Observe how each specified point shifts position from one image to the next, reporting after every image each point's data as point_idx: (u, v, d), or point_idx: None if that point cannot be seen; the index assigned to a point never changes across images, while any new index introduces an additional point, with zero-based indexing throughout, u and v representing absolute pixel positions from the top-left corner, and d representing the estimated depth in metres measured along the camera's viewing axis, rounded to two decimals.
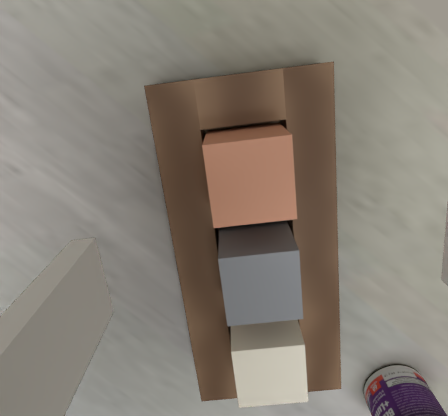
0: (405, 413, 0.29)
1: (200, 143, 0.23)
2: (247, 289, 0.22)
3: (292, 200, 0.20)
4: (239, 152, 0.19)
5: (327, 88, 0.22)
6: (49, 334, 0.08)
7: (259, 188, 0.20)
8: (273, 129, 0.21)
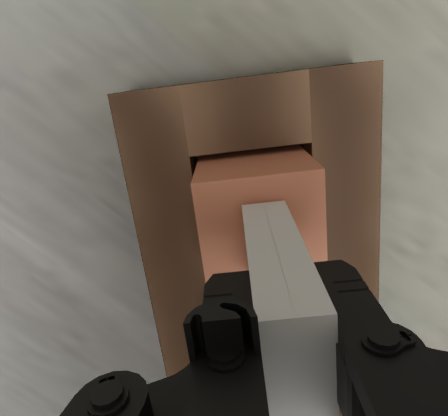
0: None
1: (189, 175, 0.16)
2: None
3: None
4: (245, 194, 0.13)
5: (372, 98, 0.15)
6: None
7: None
8: (293, 156, 0.15)
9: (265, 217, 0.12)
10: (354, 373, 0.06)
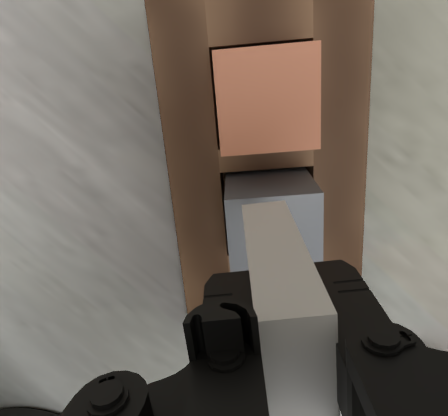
0: None
1: (208, 64, 0.19)
2: None
3: (316, 125, 0.17)
4: (256, 60, 0.16)
5: None
6: None
7: (277, 108, 0.17)
8: None
9: (265, 217, 0.12)
10: (354, 373, 0.06)
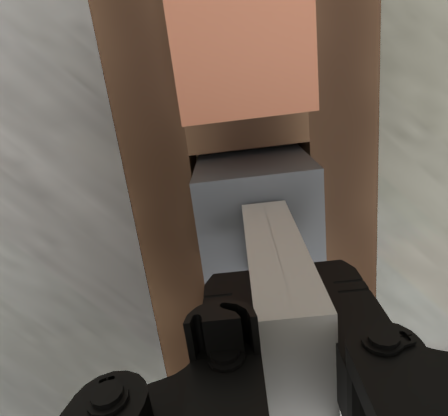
0: None
1: (163, 9, 0.14)
2: (239, 237, 0.14)
3: (312, 76, 0.12)
4: None
5: None
6: None
7: (256, 53, 0.12)
8: None
9: (265, 217, 0.12)
10: (354, 373, 0.06)
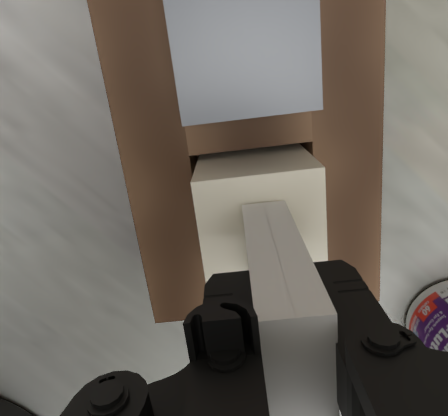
0: None
1: None
2: (218, 41, 0.12)
3: None
4: None
5: None
6: None
7: None
8: None
9: (265, 217, 0.12)
10: (354, 373, 0.06)
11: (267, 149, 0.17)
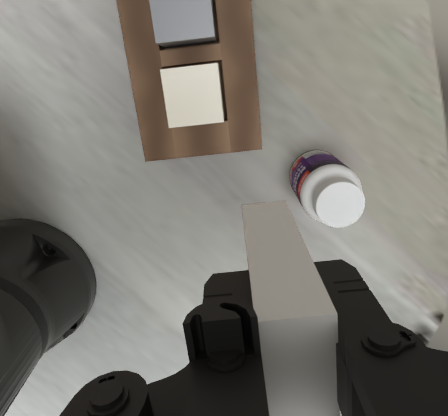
0: (313, 163, 0.34)
1: None
2: (170, 6, 0.28)
3: None
4: None
5: None
6: None
7: None
8: None
9: (265, 217, 0.12)
10: (354, 373, 0.06)
11: None
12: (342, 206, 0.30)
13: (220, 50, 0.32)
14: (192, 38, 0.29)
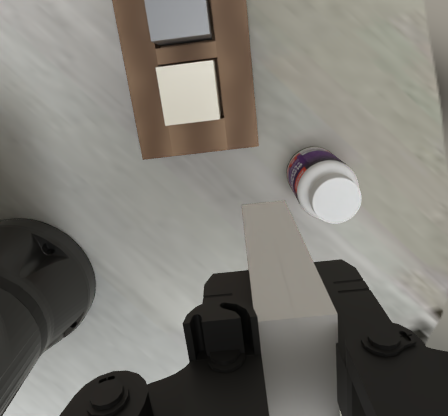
0: (310, 160, 0.34)
1: None
2: (164, 4, 0.28)
3: None
4: None
5: None
6: None
7: None
8: None
9: (265, 217, 0.12)
10: (354, 373, 0.06)
11: None
12: (338, 201, 0.30)
13: (216, 48, 0.32)
14: (187, 36, 0.29)
